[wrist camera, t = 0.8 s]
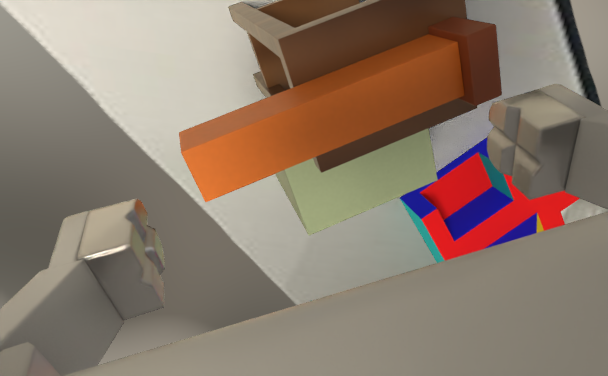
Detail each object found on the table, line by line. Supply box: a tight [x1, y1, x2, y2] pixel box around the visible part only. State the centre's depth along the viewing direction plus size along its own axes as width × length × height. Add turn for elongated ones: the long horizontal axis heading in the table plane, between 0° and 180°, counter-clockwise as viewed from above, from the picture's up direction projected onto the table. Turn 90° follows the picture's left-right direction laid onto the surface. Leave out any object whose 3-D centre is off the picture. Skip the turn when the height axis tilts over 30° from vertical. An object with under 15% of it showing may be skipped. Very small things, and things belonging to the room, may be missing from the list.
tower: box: [179, 17, 502, 202], centre depth 29 cm, size 5×20×5 cm, turn 108°
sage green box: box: [276, 128, 438, 235], centre depth 54 cm, size 10×16×15 cm, turn 108°
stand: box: [228, 0, 477, 173], centre depth 43 cm, size 10×13×26 cm
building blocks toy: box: [400, 138, 579, 263], centre depth 66 cm, size 19×25×18 cm
